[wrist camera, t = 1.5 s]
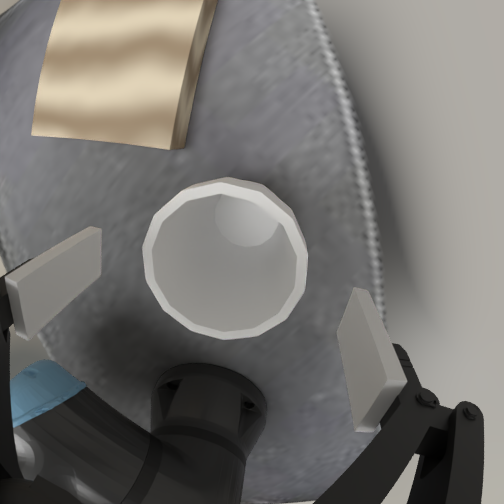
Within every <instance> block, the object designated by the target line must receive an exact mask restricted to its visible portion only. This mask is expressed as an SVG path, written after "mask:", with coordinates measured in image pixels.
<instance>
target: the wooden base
mask: <svg viewBox="0 0 504 504" xmlns="http://www.w3.org/2000/svg"><path fill="white" fill-rule="evenodd" d="M217 2H218V0H61V3H60V5H59V8H58V11H57V14H56V18H55V21H54V24H53V27H52V31H51V34H50V38H49V42H48V45H47V49H46V53H45V57H44V62H43V66H42V71H41V76H40V81H39V86H38V91H37V97H36V103H35V110H34V117H33V125H32V134H31V135H32V136H49V137H63V138H75V139H87V140H97V141H106V142H115V143H123V144H131V145H139V146H147V147H154V148H161V149H167V150H173V149H181V148H184V147H185V141H186V135H187V130H188V125H189V120H190V114H191V109H192V104H193V100H194V95H195V90H196V85H197V81H198V76H199V72H200V68H201V63H202V59H203V55H204V51H205V47H206V43H207V39H208V35H209V31H210V27H211V23H212V20H213V16H214V12H215V9H216V5H217Z"/></svg>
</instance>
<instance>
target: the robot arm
mask: <svg viewBox="0 0 504 504" xmlns="http://www.w3.org/2000/svg"><path fill="white" fill-rule="evenodd" d="M101 236H102V229H100V228H96V227H92V226H90V227H88V228H86V229H84V230H82V231H80V232H79V233H77V234H75V235H73V236H71V237H70V238H68V239H66V240H64V241H63V242H61V243H59V244H57V245H56V246H54V247H52V248H50V249H49V250H47V251H45V252H44V253H42V254H40V255H39V256H37V257H35V258H33V259H29V260H27V261H26V262H24V263H22V264H21V265H19V266H17V267H16V268H15V269H13V270H11V271H10V272H8V273H6V274H5V275H3V276H2V277H0V504H240V503H241V496H242V488H243V481H244V473H245V466H246V460H247V457H248V456H249V454H250V452H251V450H252V449H253V447H254V445H255V444H256V442H257V440H258V438H259V437H260V435H261V433H262V431H263V429H264V426H265V422H266V411H267V407H266V402H265V399H264V397H263V395H262V394H261V392H260V391H259V390H258V388H257V387H256V386H255V385H254V384H252V383H251V382H250V381H249V380H247V379H246V378H244V377H243V376H241V375H239V374H237V373H235V372H233V371H231V370H228V369H225V368H222V367H218V366H214V365H208V364H185V365H180V366H177V367H174V368H172V369H170V370H168V371H167V372H165V373H164V374H163V375H162V376H161V377H160V379H159V380H158V382H157V384H156V386H155V388H154V391H153V393H152V397H151V432H150V433H149V432H147V431H146V430H144V429H143V428H141V427H140V426H138V425H137V424H135V423H134V422H132V421H131V420H129V419H128V418H127V417H125V416H124V415H122V414H121V413H120V412H118V411H117V410H116V409H114V408H113V407H112V406H110V405H109V404H108V403H106V402H105V401H104V400H102V399H101V398H100V397H99V396H97V395H96V394H95V393H93V392H92V391H91V390H90V389H89V388H87V387H86V386H87V385H86V384H85V383H84V382H82V381H79V380H77V379H76V378H75V377H74V376H72V375H71V374H70V373H69V372H67V371H66V370H65V369H64V368H62V367H61V366H60V365H59V364H57V363H56V362H54V361H51V360H40V361H37V362H35V363H33V364H31V365H29V366H28V367H26V368H25V369H24V370H22V371H21V372H20V373H18V374H17V375H16V376H15V377H14V378H12V379H11V380H10V364H9V363H10V331H9V327H10V326H11V325H12V324H13V323H14V327H15V331H16V335H18V336H20V337H22V338H24V339H26V340H28V341H29V340H30V339H31V338H32V337H33V336H34V335H35V334H36V333H38V332H39V331H40V330H41V329H42V328H43V327H44V326H45V325H46V324H47V323H48V322H49V321H50V320H51V319H53V318H54V317H55V316H56V315H57V314H58V313H59V312H60V311H61V310H62V309H63V308H65V307H66V306H67V305H68V304H69V303H70V302H71V301H72V300H74V299H75V298H76V297H77V296H78V295H79V294H80V293H82V292H83V291H84V290H85V289H86V288H87V287H88V286H90V285H91V284H92V283H93V282H94V281H95V280H97V279H98V278H99V277H100V276H101ZM336 334H337V338H338V343H339V348H340V353H341V358H342V363H343V368H344V374H345V379H346V384H347V390H348V395H349V401H350V407H351V413H352V419H353V425H354V431H357V432H373V431H374V430H375V429H376V427H377V426H378V424H379V423H380V425H381V430H380V432H379V433H378V434H377V435H376V437H375V438H374V439H373V440H372V442H371V443H370V444H369V445H368V446H367V447H366V449H365V450H364V451H363V452H362V453H361V454H360V456H359V457H358V458H357V459H356V460H355V461H354V462H353V463H352V465H351V466H350V467H349V468H348V469H347V470H346V471H345V472H344V473H343V474H342V475H341V476H340V477H339V478H338V479H337V480H336V481H335V482H334V484H333V485H332V486H331V487H330V488H329V489H328V490H327V491H325V492H324V493H323V494H322V495H321V496H320V497H319V498H318V499H317V500H316V501H315V502H314V503H313V504H381V503H382V501H383V500H384V498H385V497H386V496H387V494H388V493H389V491H390V490H391V489H392V487H393V486H394V484H395V483H396V481H397V480H398V478H399V477H400V475H401V474H402V472H403V471H404V469H405V468H406V466H407V465H408V463H409V461H410V460H411V458H412V456H413V455H414V453H415V454H419V455H420V457H419V461H418V465H417V469H416V474H415V477H414V481H413V485H412V488H411V491H410V495H409V498H408V501H407V504H481V497H482V487H483V470H484V419H483V414H482V412H481V411H480V409H479V408H478V407H477V406H476V405H475V404H472V403H471V402H467V401H462V402H460V403H459V404H458V405H457V406H456V407H455V409H450V408H447V407H444V406H441V405H439V404H440V403H439V400H438V398H437V397H436V396H435V394H434V393H432V392H431V391H430V390H428V389H425V388H422V386H421V384H420V382H419V379H418V377H417V375H416V372H415V370H414V368H413V366H412V364H411V362H410V359H409V357H408V355H407V352H406V351H405V350H404V349H403V348H402V347H401V346H400V345H399V344H393V343H391V340H390V338H389V336H388V333H387V331H386V329H385V327H384V324H383V322H382V320H381V318H380V315H379V313H378V311H377V309H376V307H375V305H374V302H373V300H372V298H371V296H370V294H369V292H368V290H365V289H360V288H356V287H354V288H353V291H352V293H351V296H350V299H349V301H348V304H347V307H346V309H345V312H344V314H343V317H342V320H341V322H340V325H339V327H338V330H337V332H336Z"/></svg>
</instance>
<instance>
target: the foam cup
mask: <svg viewBox="0 0 504 504" xmlns="http://www.w3.org/2000/svg"><path fill="white" fill-rule="evenodd" d="M142 251H143V260H144V269H145V277H146V282H147V284H148V285H149V287H150V289H151V290H152V292H153V294H154V295H155V297H156V299H157V300H158V302H159V304H160V305H161V307H162V309H163V310H164V311H165V312H167V313H168V314H169V315H170V316H172V317H173V318H174V319H176V320H177V321H178V322H180V323H181V324H182V325H184V326H185V327H186V328H188V329H189V330H190V331H193V332H197V333H200V334H204V335H207V336H211V337H215V338H218V339H222V340H228V339H238V338H247V337H255V336H259V335H260V334H262V333H264V332H266V331H267V330H269V329H271V328H273V327H274V326H276V325H278V324H279V323H281V322H283V321H284V320H286V319H287V318H288V316H289V315H290V313H291V312H292V310H293V309H294V307H295V306H296V304H297V303H298V301H299V299H300V298H301V296H302V295H303V293H304V292H305V287H306V275H307V263H308V251H307V246H306V241H305V239H304V236H303V234H302V232H301V229H300V227H299V225H298V222H297V220H296V218H295V216H294V213H293V211H292V209H291V208H290V207H289V206H287V205H286V204H285V203H284V202H283V201H282V200H280V199H279V198H278V197H277V196H276V195H275V194H274V193H273V192H272V191H270V190H269V189H268V188H267V187H266V186H264V185H263V184H259V183H256V182H252V181H248V180H240V179H235V178H231V177H224V178H220V179H215V180H211V181H206V182H202V183H198V184H194V185H192V186H190V187H188V188H186V189H184V190H182V191H181V192H180V193H178V194H177V195H176V196H175V197H174V198H173V199H172V200H170V201H169V202H168V203H167V204H166V205H165V206H164V207H162V208H161V209H160V210H159V211H158V212H157V213H156V214H155V215H154V216H153V219H152V222H151V224H150V227H149V230H148V232H147V235H146V238H145V241H144V243H143V246H142Z"/></svg>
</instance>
